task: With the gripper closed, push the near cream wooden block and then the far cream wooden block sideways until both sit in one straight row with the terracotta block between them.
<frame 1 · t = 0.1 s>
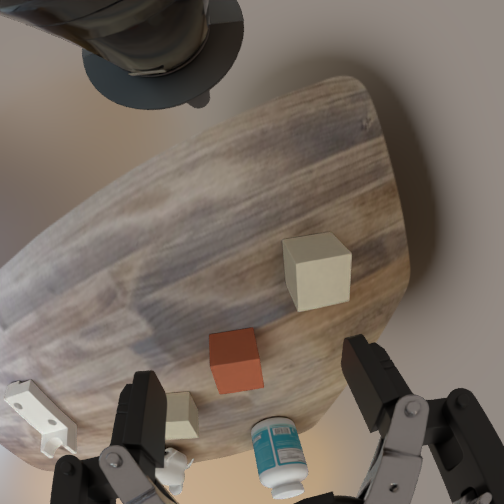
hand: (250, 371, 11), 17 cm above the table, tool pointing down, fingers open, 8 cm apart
pill bottle: (272, 425, 43), on the table
bracket: (45, 403, 36), on the table
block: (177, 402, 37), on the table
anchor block: (234, 346, 33), on the table
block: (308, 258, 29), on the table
elephant figurine: (163, 448, 44), on the table
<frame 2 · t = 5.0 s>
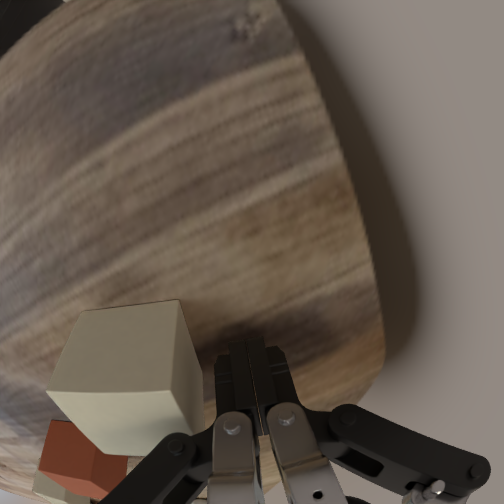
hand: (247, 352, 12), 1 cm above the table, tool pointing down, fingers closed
pill bottle: (193, 502, 27), on the table
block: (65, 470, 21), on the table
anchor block: (89, 437, 17), on the table
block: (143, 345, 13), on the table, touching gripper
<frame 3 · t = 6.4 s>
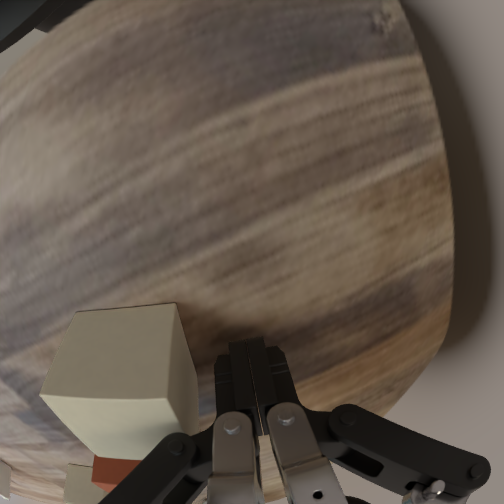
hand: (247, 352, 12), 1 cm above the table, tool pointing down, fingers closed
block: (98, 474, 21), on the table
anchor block: (144, 438, 17), on the table
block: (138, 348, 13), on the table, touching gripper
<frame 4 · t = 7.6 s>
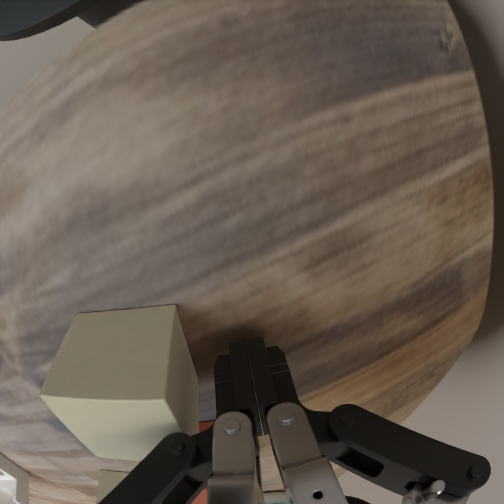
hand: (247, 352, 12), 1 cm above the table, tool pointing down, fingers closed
pill bottle: (263, 496, 27), on the table
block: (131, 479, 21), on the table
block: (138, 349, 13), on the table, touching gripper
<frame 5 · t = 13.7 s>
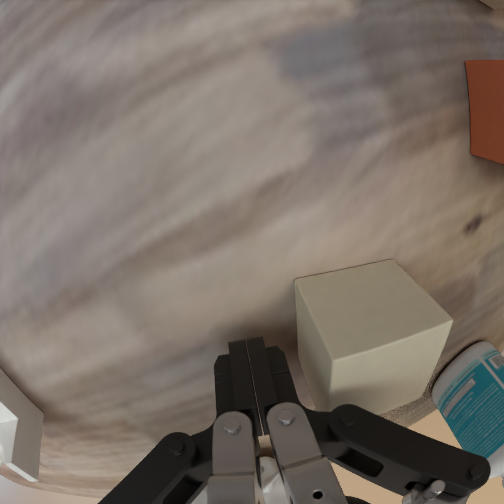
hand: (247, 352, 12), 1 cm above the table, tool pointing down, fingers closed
pill bottle: (459, 367, 20), on the table
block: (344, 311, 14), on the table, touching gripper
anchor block: (494, 112, 10), on the table
elephant figurine: (237, 461, 21), on the table
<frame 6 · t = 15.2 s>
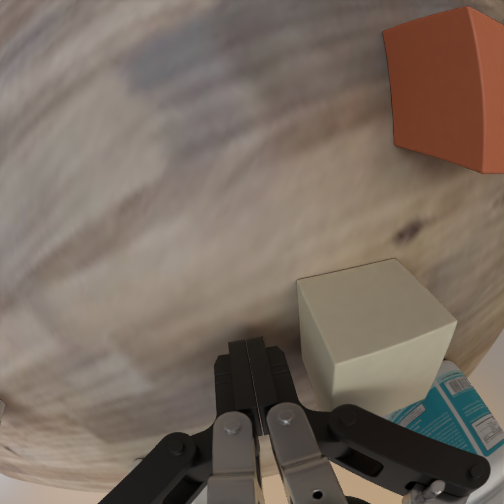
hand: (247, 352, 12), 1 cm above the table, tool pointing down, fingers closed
pill bottle: (417, 386, 19), on the table
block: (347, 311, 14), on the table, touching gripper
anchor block: (433, 91, 9), on the table
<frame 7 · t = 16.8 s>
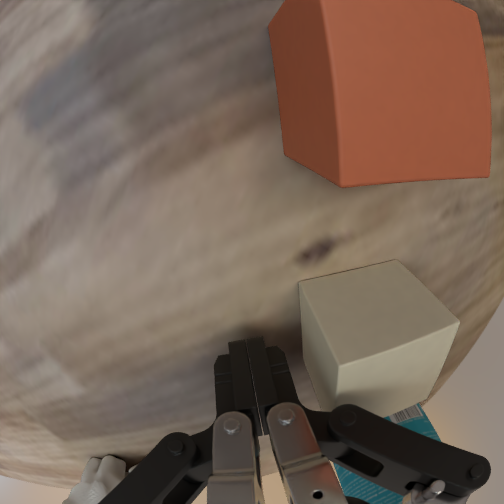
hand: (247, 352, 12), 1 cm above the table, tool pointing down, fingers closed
pill bottle: (365, 407, 19), on the table
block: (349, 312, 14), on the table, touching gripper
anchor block: (342, 86, 9), on the table
elephant figurine: (130, 464, 20), on the table
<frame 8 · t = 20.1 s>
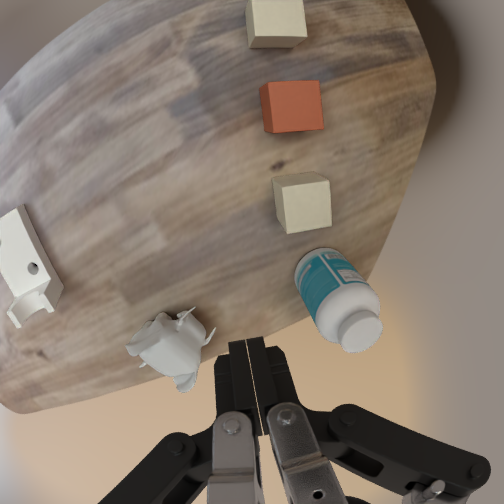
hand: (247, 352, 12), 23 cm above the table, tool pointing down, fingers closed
pill bottle: (319, 269, 39), on the table
bracket: (31, 251, 32), on the table
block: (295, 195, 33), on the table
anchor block: (284, 107, 29), on the table
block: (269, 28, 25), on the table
elephant figurine: (173, 325, 39), on the table
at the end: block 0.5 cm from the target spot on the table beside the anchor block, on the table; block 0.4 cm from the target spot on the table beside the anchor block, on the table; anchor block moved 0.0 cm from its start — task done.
